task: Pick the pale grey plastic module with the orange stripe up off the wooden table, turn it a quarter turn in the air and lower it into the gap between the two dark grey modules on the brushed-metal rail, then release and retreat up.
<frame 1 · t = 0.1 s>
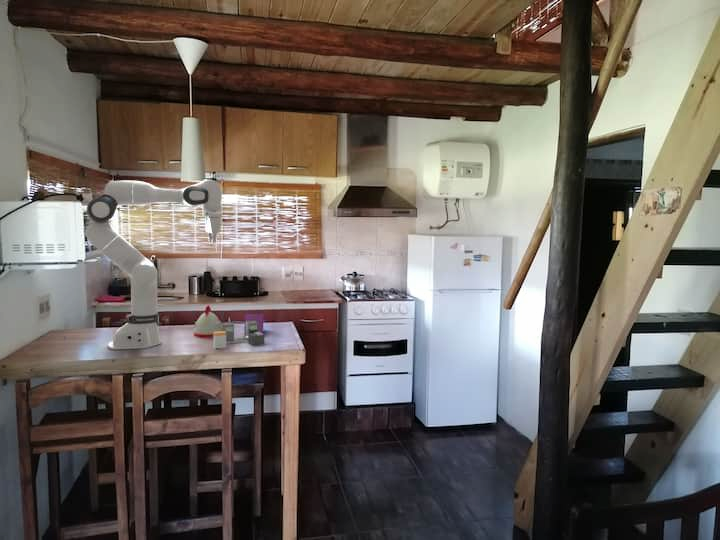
hand: (212, 242, 234), 48 cm above the table, tool pointing down, fingers open, 8 cm apart
loose module: (219, 347, 222), on the table
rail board: (239, 341, 234), on the table
mounting bracket: (254, 334, 250), on the table
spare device: (256, 344, 229), on the table
white and red dome: (208, 335, 247), on the table
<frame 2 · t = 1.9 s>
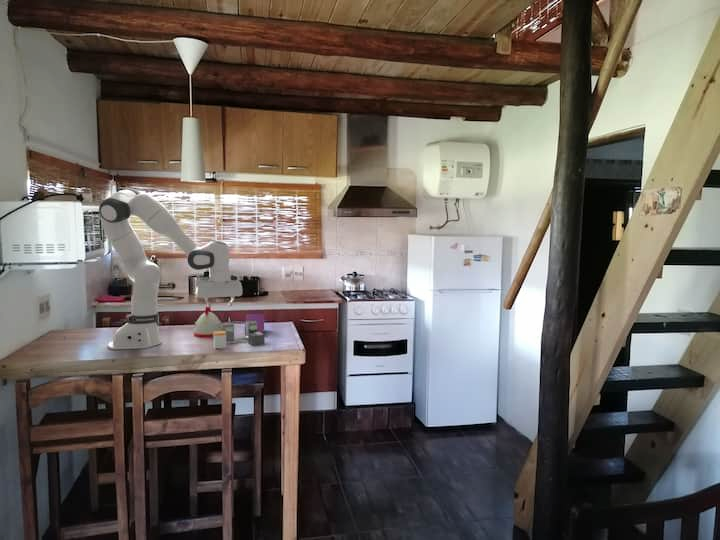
hand: (219, 306, 220), 19 cm above the table, tool pointing down, fingers open, 8 cm apart
nothing on the table moved.
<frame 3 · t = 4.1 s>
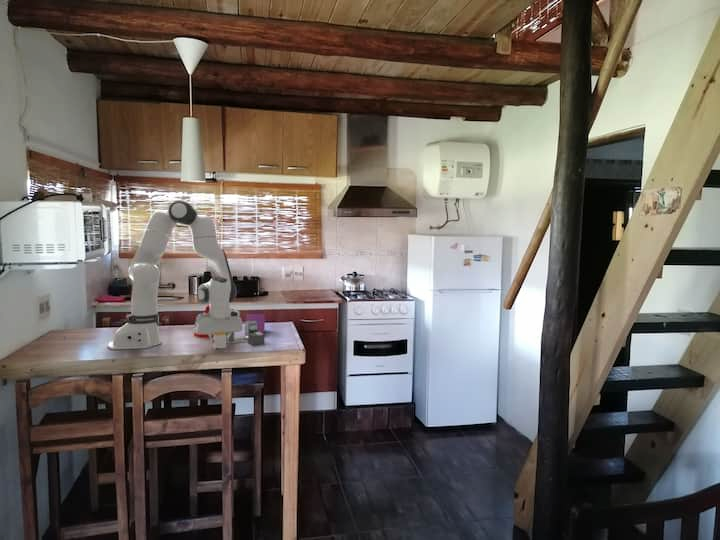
hand: (219, 342, 222), 2 cm above the table, tool pointing down, fingers closed on loose module, 5 cm apart
loose module: (219, 347, 222), on the table, touching gripper
everything else where it was.
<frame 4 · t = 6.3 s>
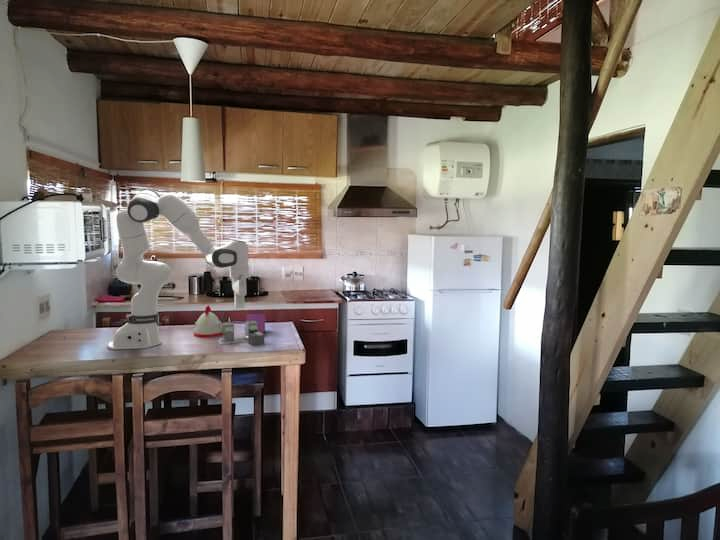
hand: (239, 302, 231), 19 cm above the table, tool pointing down, fingers closed on loose module, 5 cm apart
loose module: (239, 307, 231), point 17 cm above the table, touching gripper
everything else where it was.
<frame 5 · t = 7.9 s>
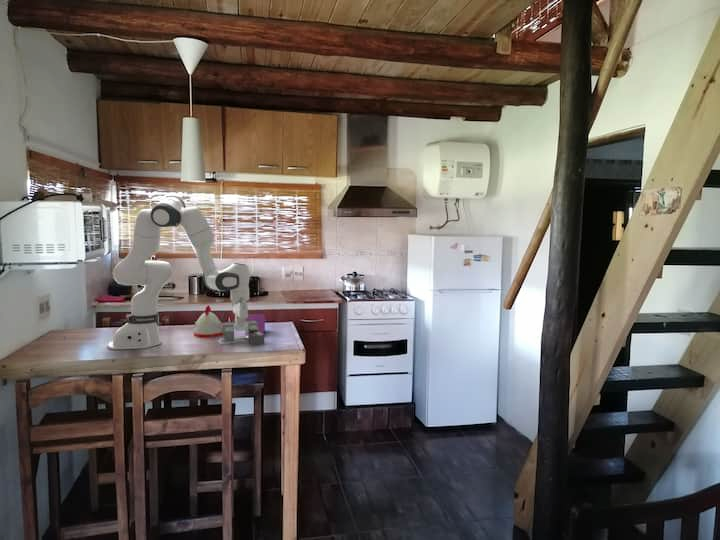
hand: (240, 324, 233), 8 cm above the table, tool pointing down, fingers closed on loose module, 5 cm apart
loose module: (240, 329, 233), point 6 cm above the table, touching gripper
everything else where it was.
when the fingers open (5 cm above the table, at t = 8.9 s): loose module drops 1 cm, resting on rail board.
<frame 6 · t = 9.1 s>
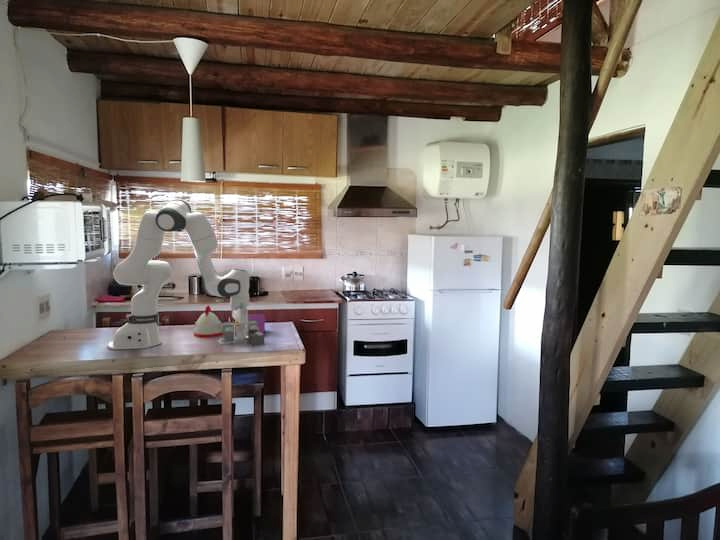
hand: (239, 330, 234), 5 cm above the table, tool pointing down, fingers open, 7 cm apart
loose module: (239, 337, 234), point 2 cm above the table, touching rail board
everything else where it was.
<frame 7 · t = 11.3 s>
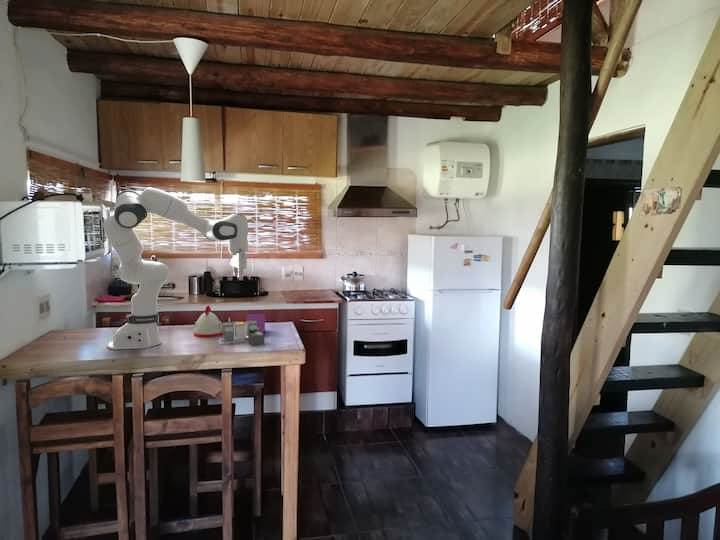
hand: (237, 277, 230), 32 cm above the table, tool pointing down, fingers open, 8 cm apart
nothing on the table moved.
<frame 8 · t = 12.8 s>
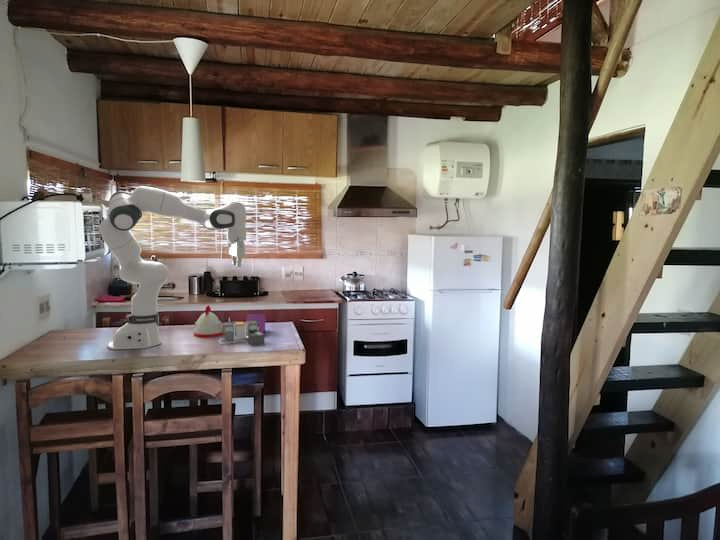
hand: (236, 265, 228), 37 cm above the table, tool pointing down, fingers open, 8 cm apart
nothing on the table moved.
at the end: loose module 0.1 cm off-centre on the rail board, point 1.8 cm above the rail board's base; loose module tilted 0°; the gripper is holding nothing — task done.
